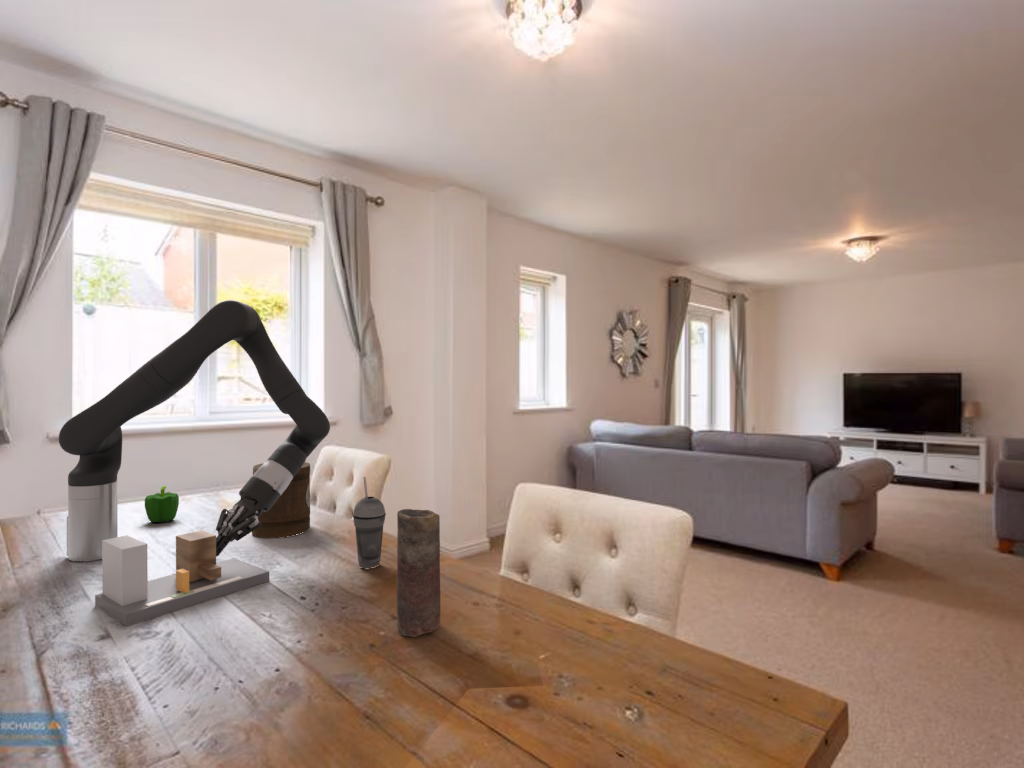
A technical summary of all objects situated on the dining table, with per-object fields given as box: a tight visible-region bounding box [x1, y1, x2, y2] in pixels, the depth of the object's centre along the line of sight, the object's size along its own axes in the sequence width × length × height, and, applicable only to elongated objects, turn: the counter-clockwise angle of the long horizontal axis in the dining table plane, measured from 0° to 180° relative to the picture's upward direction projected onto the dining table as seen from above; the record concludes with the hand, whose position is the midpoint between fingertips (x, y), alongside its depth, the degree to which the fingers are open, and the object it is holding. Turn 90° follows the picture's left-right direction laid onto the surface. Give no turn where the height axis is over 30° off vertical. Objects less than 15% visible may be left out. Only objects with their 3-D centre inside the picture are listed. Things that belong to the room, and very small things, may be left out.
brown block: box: [175, 529, 221, 582], centre depth 111 cm, size 5×11×8 cm, turn 54°
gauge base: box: [94, 535, 270, 627], centre depth 109 cm, size 26×14×12 cm, turn 144°
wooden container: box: [251, 461, 311, 539], centre depth 153 cm, size 15×15×22 cm
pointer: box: [175, 569, 189, 593], centre depth 104 cm, size 1×4×4 cm, turn 54°
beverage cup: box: [352, 476, 387, 568], centre depth 125 cm, size 7×7×20 cm
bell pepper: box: [144, 485, 180, 523], centre depth 162 cm, size 8×8×10 cm
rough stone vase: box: [396, 508, 442, 638], centre depth 94 cm, size 8×7×20 cm
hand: (211, 554), depth 115 cm, fingers closed
